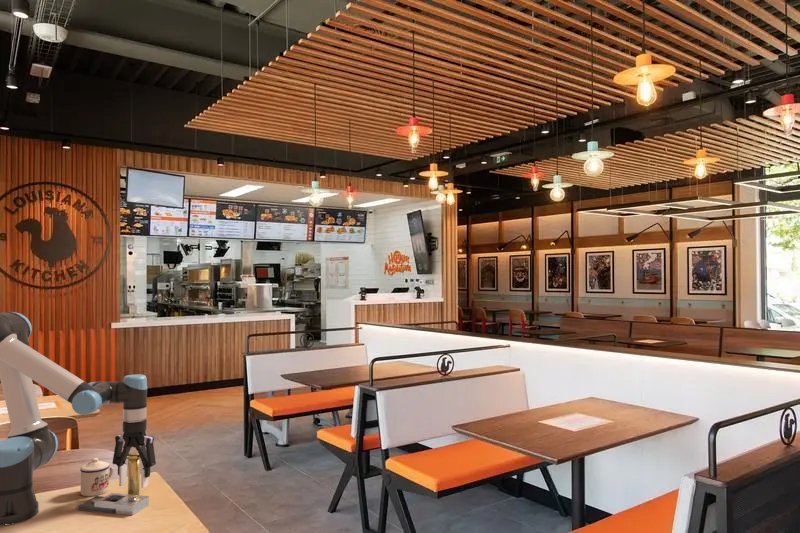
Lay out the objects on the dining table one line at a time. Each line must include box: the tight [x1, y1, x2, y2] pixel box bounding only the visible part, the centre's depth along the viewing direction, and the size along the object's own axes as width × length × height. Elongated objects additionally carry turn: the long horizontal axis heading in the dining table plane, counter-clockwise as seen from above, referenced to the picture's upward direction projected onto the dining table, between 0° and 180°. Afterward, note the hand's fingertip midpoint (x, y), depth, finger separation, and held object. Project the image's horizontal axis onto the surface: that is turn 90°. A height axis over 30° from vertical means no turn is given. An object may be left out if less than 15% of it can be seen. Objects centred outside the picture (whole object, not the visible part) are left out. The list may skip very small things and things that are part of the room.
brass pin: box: [126, 451, 141, 495], centre depth 195 cm, size 5×5×14 cm
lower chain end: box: [77, 495, 118, 514], centre depth 184 cm, size 14×8×2 cm, turn 78°
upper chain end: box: [94, 492, 150, 516], centre depth 183 cm, size 14×8×4 cm, turn 78°
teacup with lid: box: [80, 457, 114, 497], centre depth 199 cm, size 12×9×12 cm
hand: (133, 485), depth 195 cm, fingers open, 8 cm apart
